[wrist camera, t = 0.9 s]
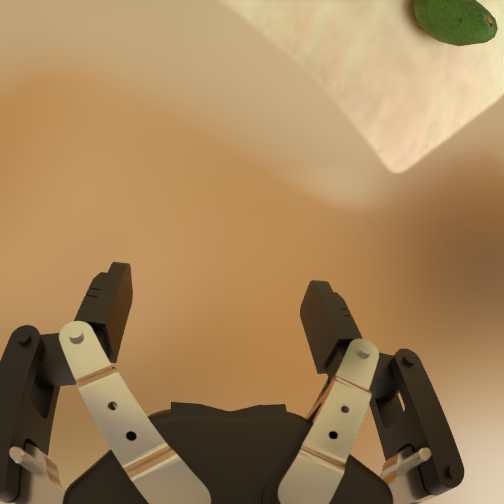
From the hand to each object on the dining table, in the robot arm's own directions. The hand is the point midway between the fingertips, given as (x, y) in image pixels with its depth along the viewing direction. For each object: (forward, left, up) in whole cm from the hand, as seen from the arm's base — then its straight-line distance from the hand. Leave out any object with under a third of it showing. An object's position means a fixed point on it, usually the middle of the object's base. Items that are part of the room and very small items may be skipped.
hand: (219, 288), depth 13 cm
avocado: (-12, +25, -29) cm, 40 cm away
